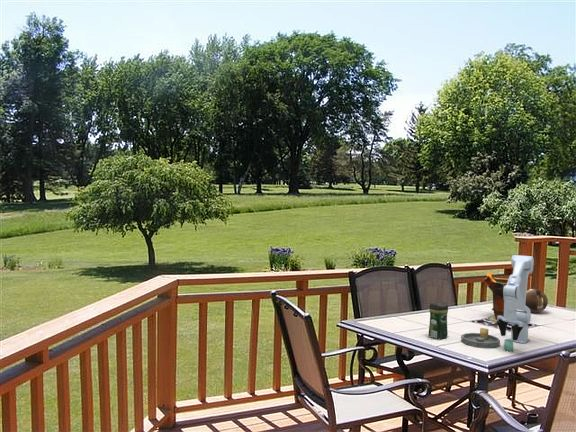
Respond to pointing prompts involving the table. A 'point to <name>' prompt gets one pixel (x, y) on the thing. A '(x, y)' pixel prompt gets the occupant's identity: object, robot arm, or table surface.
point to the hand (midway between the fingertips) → (509, 337)
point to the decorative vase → (496, 294)
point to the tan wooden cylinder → (484, 333)
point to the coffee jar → (438, 320)
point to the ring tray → (480, 340)
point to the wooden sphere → (536, 300)
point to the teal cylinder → (508, 345)
